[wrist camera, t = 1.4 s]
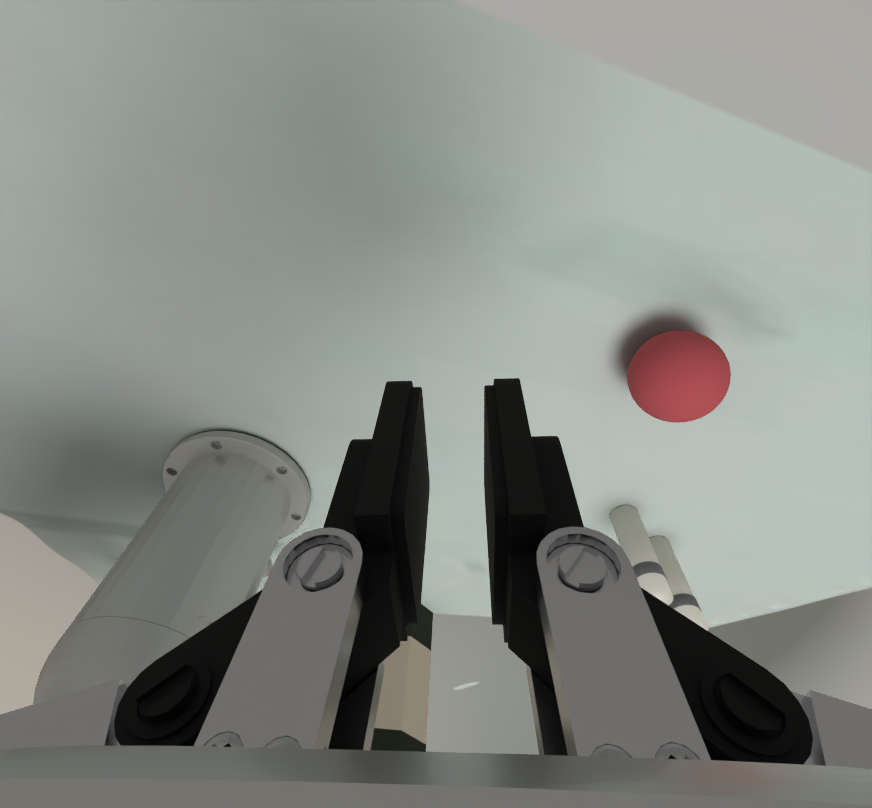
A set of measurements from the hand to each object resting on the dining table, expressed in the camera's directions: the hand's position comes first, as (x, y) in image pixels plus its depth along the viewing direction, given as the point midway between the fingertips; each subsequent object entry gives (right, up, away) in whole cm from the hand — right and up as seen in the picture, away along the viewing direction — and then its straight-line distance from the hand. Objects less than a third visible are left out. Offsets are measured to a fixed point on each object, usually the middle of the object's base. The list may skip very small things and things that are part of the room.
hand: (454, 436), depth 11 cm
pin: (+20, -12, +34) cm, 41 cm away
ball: (+15, +3, +21) cm, 26 cm away
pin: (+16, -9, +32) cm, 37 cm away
